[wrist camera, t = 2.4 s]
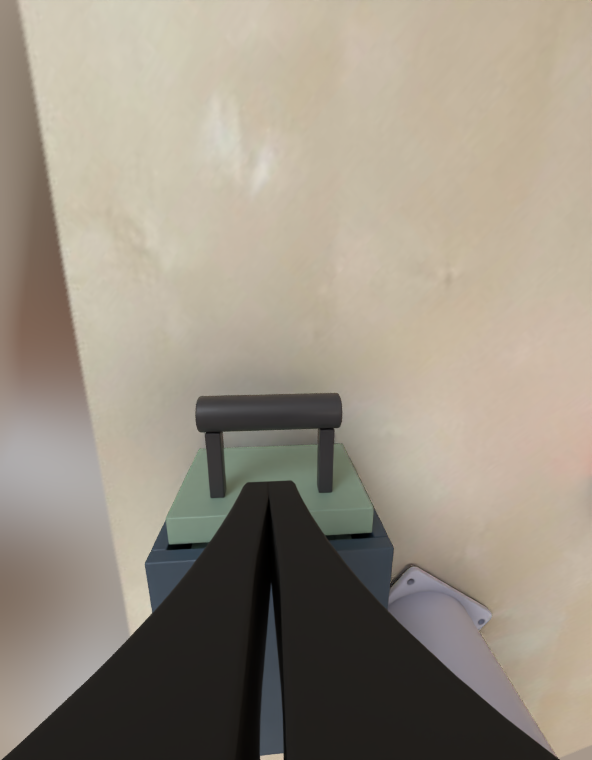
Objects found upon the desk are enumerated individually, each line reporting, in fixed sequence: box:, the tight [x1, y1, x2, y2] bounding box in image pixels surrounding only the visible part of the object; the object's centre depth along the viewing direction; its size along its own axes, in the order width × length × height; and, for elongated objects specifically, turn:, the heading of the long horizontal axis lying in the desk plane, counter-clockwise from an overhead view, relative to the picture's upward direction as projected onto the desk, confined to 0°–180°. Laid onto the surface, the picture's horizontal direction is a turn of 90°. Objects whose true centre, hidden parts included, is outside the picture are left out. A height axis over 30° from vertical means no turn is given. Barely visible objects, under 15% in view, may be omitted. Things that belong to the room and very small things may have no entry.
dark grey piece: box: [145, 464, 394, 756], centre depth 16 cm, size 11×9×7 cm
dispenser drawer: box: [166, 393, 374, 549], centre depth 15 cm, size 15×8×6 cm, turn 0°
